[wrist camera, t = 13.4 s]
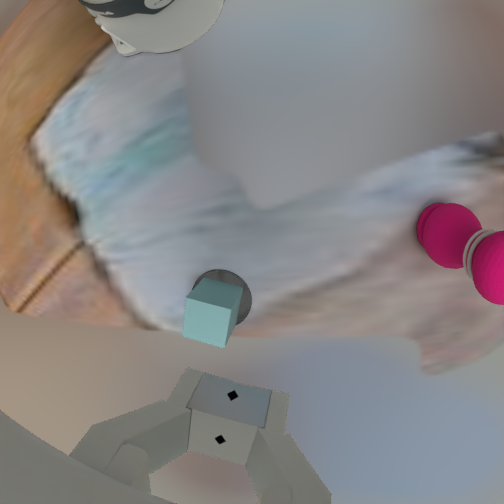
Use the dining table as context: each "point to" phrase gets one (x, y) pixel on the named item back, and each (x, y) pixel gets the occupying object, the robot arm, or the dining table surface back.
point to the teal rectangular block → (211, 312)
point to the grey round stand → (235, 280)
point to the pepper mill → (464, 246)
